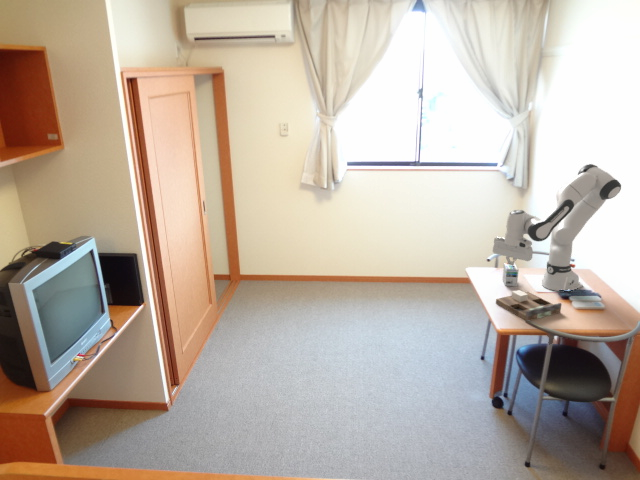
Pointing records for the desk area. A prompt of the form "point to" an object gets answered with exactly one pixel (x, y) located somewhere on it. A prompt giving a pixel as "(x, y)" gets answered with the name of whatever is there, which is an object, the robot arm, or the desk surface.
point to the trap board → (529, 307)
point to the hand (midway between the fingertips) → (510, 264)
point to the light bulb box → (510, 274)
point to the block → (519, 296)
